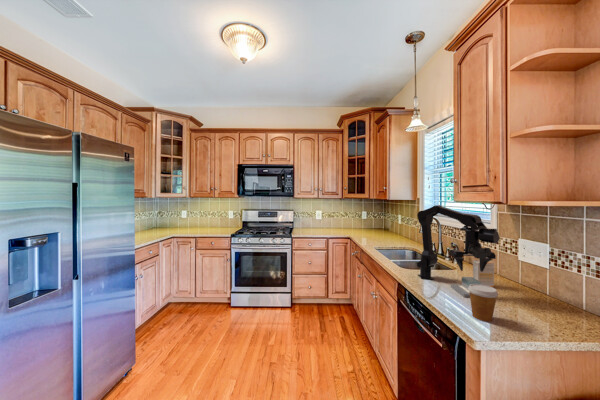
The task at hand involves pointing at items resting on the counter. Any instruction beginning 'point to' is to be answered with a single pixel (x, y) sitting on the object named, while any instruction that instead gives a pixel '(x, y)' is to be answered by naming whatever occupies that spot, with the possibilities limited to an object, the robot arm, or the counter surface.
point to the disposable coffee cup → (482, 301)
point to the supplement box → (484, 273)
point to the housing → (469, 282)
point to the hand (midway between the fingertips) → (471, 271)
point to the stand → (461, 290)
